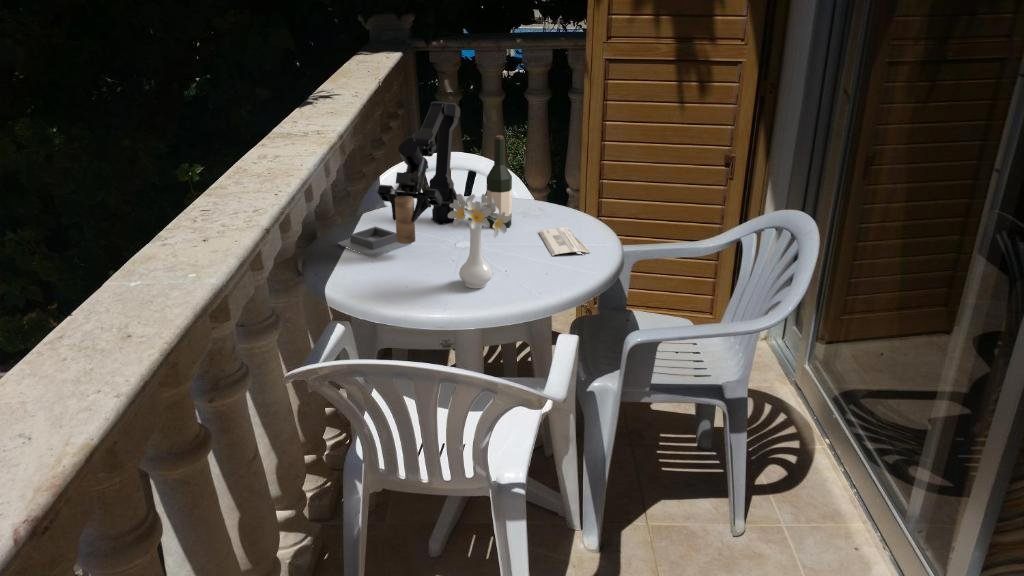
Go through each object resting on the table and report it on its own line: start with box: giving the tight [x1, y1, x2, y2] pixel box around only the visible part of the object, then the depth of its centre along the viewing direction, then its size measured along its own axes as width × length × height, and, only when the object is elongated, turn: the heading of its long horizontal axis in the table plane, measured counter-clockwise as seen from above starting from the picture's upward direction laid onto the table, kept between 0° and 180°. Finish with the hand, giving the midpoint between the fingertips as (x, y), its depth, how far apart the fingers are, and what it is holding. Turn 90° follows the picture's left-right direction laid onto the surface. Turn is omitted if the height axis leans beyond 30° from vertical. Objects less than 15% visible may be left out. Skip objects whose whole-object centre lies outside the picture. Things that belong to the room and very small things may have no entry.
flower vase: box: [448, 193, 513, 290], centre depth 220 cm, size 13×18×25 cm
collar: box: [337, 226, 412, 258], centre depth 252 cm, size 16×16×4 cm
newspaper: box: [538, 226, 591, 257], centre depth 256 cm, size 23×12×2 cm, turn 9°
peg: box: [395, 196, 416, 244], centre depth 239 cm, size 6×6×13 cm
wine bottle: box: [486, 134, 513, 230], centre depth 266 cm, size 8×8×30 cm
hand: (403, 220), depth 238 cm, fingers closed on peg, 5 cm apart
